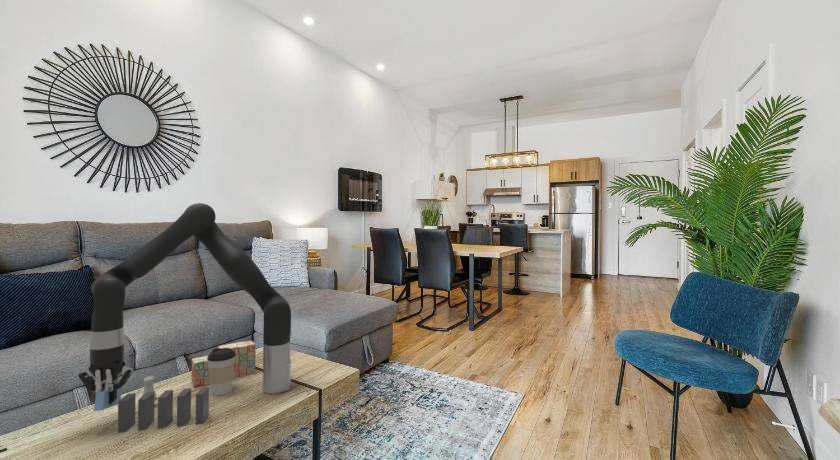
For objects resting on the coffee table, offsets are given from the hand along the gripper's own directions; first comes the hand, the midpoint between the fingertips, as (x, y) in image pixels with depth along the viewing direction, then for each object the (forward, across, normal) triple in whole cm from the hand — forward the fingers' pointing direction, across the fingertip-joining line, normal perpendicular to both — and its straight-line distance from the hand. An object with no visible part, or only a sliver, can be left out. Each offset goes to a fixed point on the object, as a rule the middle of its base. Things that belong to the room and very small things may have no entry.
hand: (106, 403), depth 104 cm
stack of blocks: (+8, -23, -32) cm, 40 cm away
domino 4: (+8, -20, 0) cm, 22 cm away
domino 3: (+8, -15, 0) cm, 17 cm away
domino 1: (+8, -5, 0) cm, 9 cm away
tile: (0, 0, -5) cm, 5 cm away
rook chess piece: (+8, -3, -17) cm, 19 cm away
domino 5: (+8, -25, 0) cm, 26 cm away
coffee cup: (+8, -25, -20) cm, 33 cm away
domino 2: (+8, -10, 0) cm, 13 cm away
